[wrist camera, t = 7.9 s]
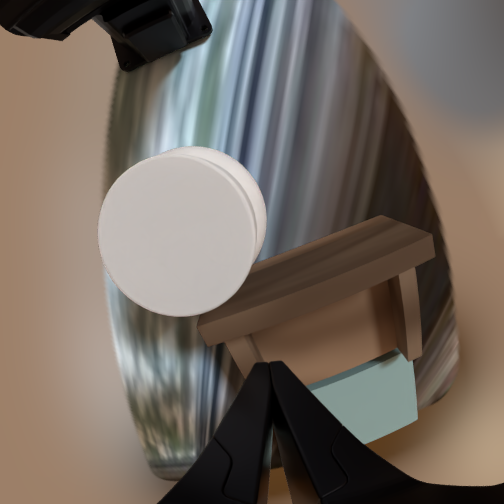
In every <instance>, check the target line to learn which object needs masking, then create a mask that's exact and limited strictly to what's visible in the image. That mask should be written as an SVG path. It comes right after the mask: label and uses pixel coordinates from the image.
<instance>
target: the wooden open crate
mask: <svg viewBox="0 0 504 504" xmlns="http://www.w3.org/2000/svg"><path fill="white" fill-rule="evenodd" d="M434 257H435V251H434V244H433V237H432V234H430V233H427V232H425V231H422V230H420V229H417V228H415V227H412V226H409V225H407V224H404V223H401V222H399V221H396V220H393V219H390V218H388V217H385V216H382V215H379V216H377V217H374V218H372V219H369V220H367V221H364V222H362V223H359V224H357V225H354V226H351V227H349V228H346V229H344V230H341V231H339V232H336V233H334V234H331V235H328V236H326V237H323V238H321V239H318V240H315V241H313V242H310V243H308V244H305V245H302V246H300V247H297V248H295V249H292V250H289V251H287V252H284V253H282V254H279V255H276V256H274V257H271V258H268V259H266V260H263V261H261V262H258V263H255V264H253V265H252V266H251V269H250V271H249V274H248V275H247V277H246V279H245V281H244V282H243V284H242V285H241V287H240V288H239V289H238V291H237V292H236V293H235V294H234V295H233V296H232V297H231V298H229V299H228V300H227V301H226V302H224V303H223V304H222V305H220V306H219V307H217V308H215V309H213V310H211V311H208V312H206V313H203V314H200V318H199V321H198V324H197V329H198V331H199V332H200V334H201V336H202V338H203V339H204V341H205V343H206V345H207V346H208V347H209V346H212V345H216V344H219V343H222V342H225V344H226V346H227V348H228V350H229V352H230V353H231V355H232V357H233V359H234V361H235V362H236V364H237V366H238V368H239V369H240V371H241V373H242V375H243V376H244V378H245V380H246V378H247V376H248V374H249V372H250V371H251V369H252V367H253V365H254V364H255V363H256V362H268V363H269V362H270V361H279V360H281V361H283V362H284V363H285V364H286V365H287V366H288V367H289V369H290V370H291V371H292V372H293V373H294V374H295V375H296V376H297V377H298V378H299V379H300V380H301V382H302V383H303V384H304V385H305V386H306V385H309V384H312V383H315V382H318V381H321V380H323V379H326V378H329V377H331V376H334V375H337V374H339V373H342V372H344V371H347V370H349V369H351V368H354V367H356V366H359V365H361V364H363V363H366V362H368V361H370V360H372V359H375V358H377V357H379V356H381V355H383V354H385V353H387V352H389V351H392V350H394V349H396V348H398V349H399V351H400V352H401V353H402V354H403V356H404V357H405V358H406V360H407V361H408V362H410V361H412V360H414V359H416V358H418V357H419V356H421V355H422V338H421V320H420V308H419V297H418V288H417V280H416V273H415V267H416V266H418V265H420V264H422V263H424V262H426V261H428V260H430V259H432V258H434Z"/></svg>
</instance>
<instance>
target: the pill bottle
mask: <svg viewBox="0 0 504 504" xmlns="http://www.w3.org/2000/svg"><path fill="white" fill-rule="evenodd" d="M266 221H267V217H266V208H265V203H264V199H263V196H262V193H261V191H260V189H259V187H258V184H257V183H256V181H255V179H254V178H253V177H252V175H251V174H250V173H249V172H248V170H247V169H246V168H245V167H244V166H243V165H242V164H240V163H239V162H238V161H236V160H235V159H233V158H232V157H230V156H229V155H227V154H224V153H223V152H220V151H217V150H214V149H210V148H205V147H198V146H188V147H180V148H175V149H172V150H169V151H166V152H163V153H161V154H159V155H157V156H154V157H150V158H147V159H145V160H142V161H140V162H138V163H137V164H135V165H134V166H132V167H130V168H129V169H127V170H126V171H125V172H124V173H123V174H122V175H121V176H120V177H119V178H118V179H117V180H116V181H115V183H114V184H113V185H112V187H111V188H110V190H109V191H108V193H107V195H106V197H105V199H104V201H103V204H102V207H101V210H100V214H99V219H98V231H97V234H98V244H99V250H100V254H101V258H102V261H103V263H104V266H105V268H106V270H107V272H108V274H109V276H110V278H111V279H112V280H113V282H114V283H115V285H116V286H117V287H118V288H119V289H120V290H121V291H122V292H123V293H124V294H125V295H126V296H127V297H128V298H129V299H131V300H132V301H133V302H135V303H136V304H138V305H140V306H141V307H143V308H145V309H147V310H149V311H151V312H154V313H158V314H161V315H166V316H174V317H188V316H194V315H199V314H203V313H206V312H208V311H211V310H213V309H215V308H217V307H219V306H220V305H222V304H223V303H224V302H226V301H227V300H228V299H229V298H231V297H232V296H233V295H234V294H235V293H236V292H237V291H238V289H239V288H240V287H241V285H242V284H243V282H244V281H245V279H246V277H247V275H248V274H249V271H250V269H251V266H252V264H253V263H254V261H255V260H256V258H257V256H258V255H259V252H260V250H261V248H262V245H263V242H264V238H265V233H266Z"/></svg>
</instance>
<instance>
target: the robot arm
mask: <svg viewBox="0 0 504 504" xmlns="http://www.w3.org/2000/svg"><path fill="white" fill-rule="evenodd" d="M90 19H92V20H94V21H95V22H96V23H97V24H98V25H99V26H100V27H102V28H103V29H104V30H105V31H106V32H107V33H108V34H109V35H110V36H111V39H112V43H113V46H114V49H115V53H116V56H117V59H118V62H119V66H120V68H121V70H123V71H124V72H130V71H132V70H134V69H136V68H137V67H139V66H141V65H143V64H145V63H147V62H152V61H154V60H156V59H158V58H160V57H162V56H164V55H166V54H168V53H171V52H173V51H175V50H177V49H180V48H182V47H184V46H185V45H186V44H188V43H190V42H193V41H195V40H198V39H201V38H203V37H206V36H208V35H210V34H211V33H212V31H213V29H212V25H211V23H210V21H209V19H208V18H207V16H206V14H205V12H204V10H203V8H202V6H201V4H200V2H199V0H0V25H1V26H2V27H3V28H4V29H5V30H7V31H9V32H11V33H13V34H15V35H20V36H29V37H32V38H45V39H53V40H59V41H63V40H64V39H65V38H67V37H68V36H69V35H70V33H71V32H72V31H74V30H75V29H77V28H78V27H79V26H81V25H82V24H84V23H85V22H87V21H88V20H90ZM203 28H208V29H207V30H206V31H201V30H202V29H203ZM128 63H130V65H129V66H128V67H126V65H127V64H128ZM273 426H274V431H275V435H276V439H277V443H278V448H279V452H280V456H281V460H282V464H283V468H284V472H285V475H286V480H287V484H288V488H289V491H290V495H291V499H292V503H293V504H504V483H502V484H498V485H493V486H453V485H440V484H431V483H426V482H422V481H419V480H416V479H414V478H412V477H410V476H409V475H407V474H405V473H404V472H402V471H401V470H399V469H398V468H396V467H395V466H393V465H392V464H390V463H389V462H387V461H386V460H385V459H383V458H382V457H380V456H379V455H377V454H376V453H375V452H373V451H372V450H371V449H369V448H368V447H367V446H366V445H364V444H363V443H362V442H361V441H360V440H359V439H357V438H356V437H355V436H354V435H353V434H352V433H351V432H350V431H349V430H348V429H347V428H346V427H345V426H342V423H341V422H340V421H339V420H338V419H337V418H336V417H335V416H334V415H333V414H332V413H331V412H330V411H329V410H328V409H327V408H326V407H325V406H324V405H323V404H322V403H321V402H320V401H319V400H318V398H317V397H316V396H315V395H314V394H313V393H312V392H311V391H310V390H309V389H308V388H307V387H306V386H305V385H304V384H303V383H302V382H301V380H300V379H299V378H298V377H297V376H296V375H295V374H294V373H293V372H292V371H291V370H290V369H289V367H288V366H287V365H286V364H285V363H284V362H283V361H281V360H279V361H270V362H269V363H268V362H256V363H255V364H254V365H253V367H252V369H251V371H250V372H249V374H248V376H247V378H246V380H245V381H244V383H243V385H242V387H241V388H240V390H239V392H238V394H237V396H236V397H235V399H234V401H233V403H232V404H231V406H230V408H229V409H228V411H227V413H226V415H225V416H224V418H223V420H222V421H221V423H220V425H219V426H218V428H217V430H216V431H215V433H214V435H213V438H211V439H210V441H209V442H208V444H207V446H206V447H205V449H204V450H203V452H202V453H201V455H200V456H199V458H198V459H197V460H196V462H195V463H194V464H193V465H192V466H191V468H190V469H189V470H188V471H187V472H186V474H185V475H184V476H183V477H182V478H181V479H180V480H179V481H178V482H177V484H176V485H175V486H174V487H173V488H172V489H171V490H170V491H169V492H168V493H167V494H166V495H165V496H164V497H163V498H162V499H161V500H160V501H159V502H158V503H157V504H267V501H268V489H269V477H270V465H271V450H272V435H273Z"/></svg>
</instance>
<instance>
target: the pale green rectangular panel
mask: <svg viewBox="0 0 504 504" xmlns="http://www.w3.org/2000/svg"><path fill="white" fill-rule="evenodd" d="M306 387H307V388H308V389H309V390H310V391H311V392H312V393H313V394H314V395H315V396H316V397H317V398H318V400H319V401H320V402H321V403H322V404H323V405H324V406H325V407H326V408H327V409H328V410H329V411H330V412H331V413H332V414H333V415H334V416H335V417H336V418H337V419H338V420H339V421H340V422H341V423H342V426H345V427H346V428H347V429H348V430H349V431H350V432H351V433H352V434H353V435H354V436H355V437H356V438H357V439H359V440H360V441H361V442H362V443H363V444H366V443H368V442H371V441H373V440H375V439H378V438H380V437H382V436H385V435H387V434H389V433H391V432H393V431H396V430H398V429H400V428H402V427H404V426H406V425H408V424H410V423H412V422H414V421H415V420H417V419H418V417H417V400H416V388H415V378H414V370H413V362H412V361H410V362H408V361H407V360H406V358H405V357H404V356H403V354H402V353H401V352H400V351H399V349H398V348H396V349H394V350H392V351H389V352H387V353H385V354H383V355H381V356H379V357H377V358H375V359H372V360H370V361H368V362H366V363H363V364H361V365H359V366H356V367H354V368H351V369H349V370H347V371H344V372H342V373H339V374H337V375H334V376H331V377H329V378H326V379H323V380H321V381H318V382H315V383H312V384H309V385H306Z"/></svg>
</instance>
